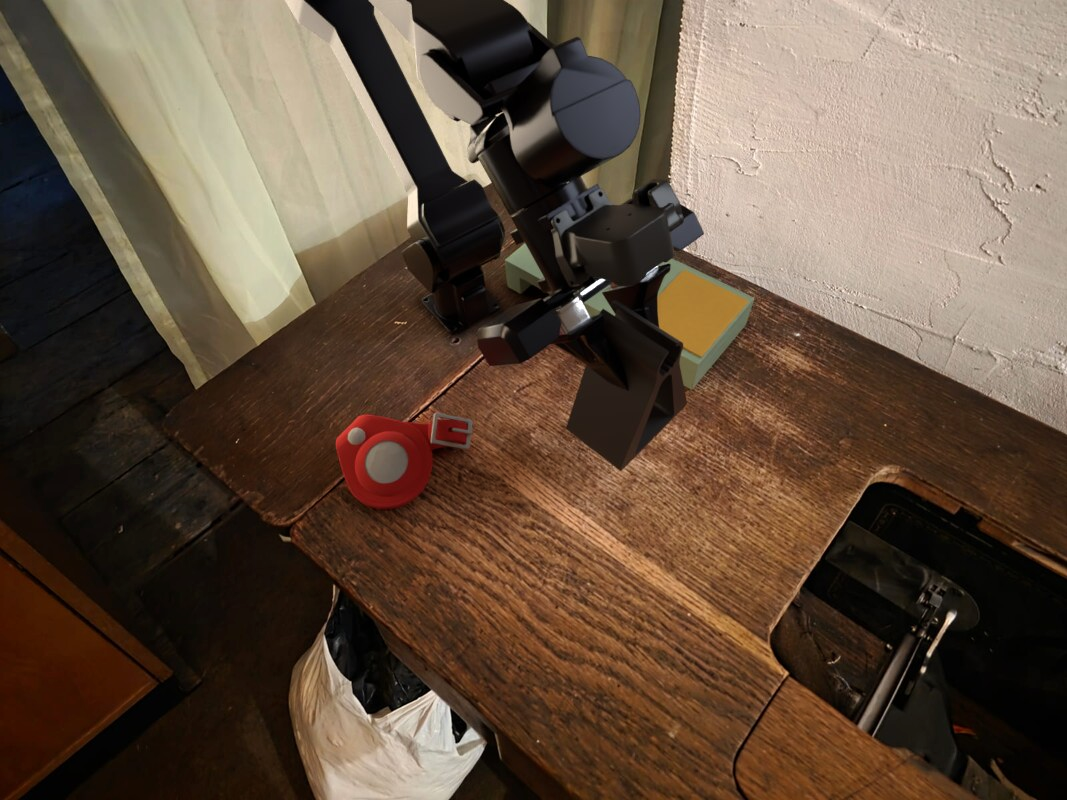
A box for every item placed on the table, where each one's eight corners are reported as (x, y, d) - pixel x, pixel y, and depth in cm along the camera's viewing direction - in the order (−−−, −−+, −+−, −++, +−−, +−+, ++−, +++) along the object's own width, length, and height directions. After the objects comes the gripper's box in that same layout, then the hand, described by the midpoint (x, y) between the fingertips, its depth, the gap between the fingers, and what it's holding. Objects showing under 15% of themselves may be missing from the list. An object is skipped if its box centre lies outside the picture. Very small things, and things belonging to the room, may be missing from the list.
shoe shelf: (507, 286, 76) (504, 258, 72) (566, 235, 81) (566, 206, 77) (691, 390, 66) (698, 363, 63) (746, 324, 71) (755, 296, 68)
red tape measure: (388, 529, 57) (306, 454, 59) (398, 534, 62) (322, 464, 63) (483, 425, 60) (402, 356, 62) (486, 436, 64) (411, 372, 66)
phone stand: (633, 368, 61) (645, 272, 51) (686, 405, 58) (711, 311, 48) (565, 430, 57) (565, 339, 47) (619, 472, 55) (631, 386, 45)
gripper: (489, 233, 37) (619, 461, 41) (708, 101, 44) (800, 307, 48) (426, 266, 47) (535, 448, 51) (612, 154, 54) (695, 322, 58)
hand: (643, 380), depth 52 cm, fingers closed on phone stand, 3 cm apart
